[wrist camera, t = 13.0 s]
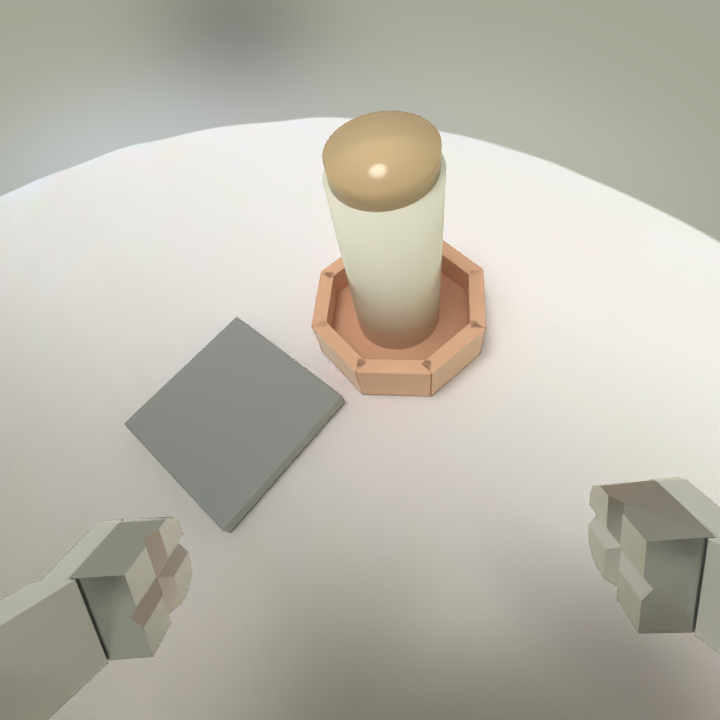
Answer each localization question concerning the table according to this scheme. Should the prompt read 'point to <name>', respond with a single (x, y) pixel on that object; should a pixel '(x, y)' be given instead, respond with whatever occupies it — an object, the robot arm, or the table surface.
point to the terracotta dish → (412, 365)
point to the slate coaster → (234, 421)
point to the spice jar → (389, 222)
